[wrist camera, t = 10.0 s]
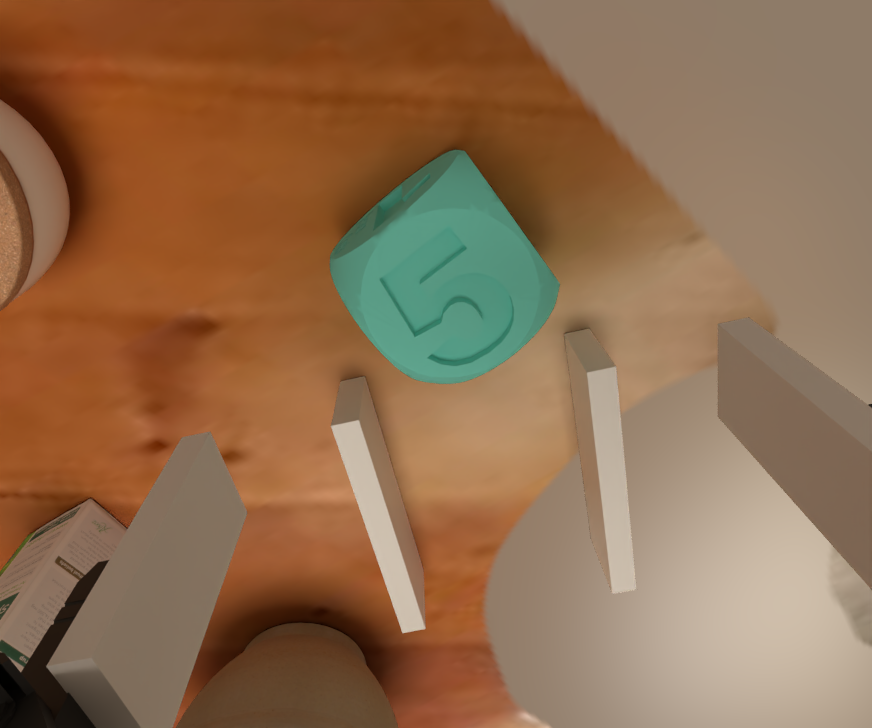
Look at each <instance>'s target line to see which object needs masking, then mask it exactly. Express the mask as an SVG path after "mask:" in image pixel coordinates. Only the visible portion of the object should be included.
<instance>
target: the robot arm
mask: <svg viewBox="0 0 872 728" xmlns="http://www.w3.org/2000/svg"><path fill="white" fill-rule="evenodd" d="M718 417H719V418H720V419H721V421H722V422H723V423H724V424H725V425H726V426H727V427H728V428H729V430H730V431H731V432H732V433H733V434H734V435H735V436H736V437H737V439H738V440H739V441H740V442H741V443H742V444H743V445H744V446H745V448H746V449H747V450H748V451H749V452H750V453H751V454H752V455H753V457H754V458H755V459H756V460H757V461H758V462H759V463H760V464H761V465H762V467H763V468H764V469H765V470H766V471H767V472H768V474H769V475H770V476H771V477H772V478H773V479H774V480H775V481H776V482H777V484H778V485H779V486H780V487H781V488H782V489H783V490H784V491H785V493H786V494H787V495H788V496H789V497H790V498H791V499H792V500H793V502H794V503H795V504H796V505H797V506H798V507H799V508H800V509H801V511H802V512H803V513H804V514H805V515H806V516H807V517H808V518H809V520H810V521H811V522H812V523H813V524H814V525H815V526H816V527H817V529H818V530H819V531H820V532H821V533H822V534H823V535H824V536H825V538H826V539H827V540H828V541H829V542H830V543H831V544H832V545H833V547H834V548H835V549H836V550H837V551H838V552H839V553H840V554H841V556H842V557H843V558H844V559H845V560H846V561H847V562H848V563H849V565H850V566H851V567H852V568H853V569H854V570H855V571H856V572H857V574H858V575H859V576H860V577H861V578H862V579H863V580H864V581H865V583H866V584H867V585H868V586H869V587H870V588H871V589H872V404H869V405H867V404H866V403H864V402H863V401H862V400H860V399H859V398H858V397H856V396H855V395H854V394H852V393H851V392H849V391H848V390H847V389H845V388H844V387H843V386H841V385H840V384H839V383H837V382H836V381H834V380H833V379H832V378H830V377H829V376H828V375H826V374H825V373H824V372H822V371H821V370H819V369H818V368H817V367H815V366H814V365H813V364H811V363H810V362H809V361H807V360H806V359H805V358H803V357H802V356H800V355H799V354H798V353H796V352H795V351H793V350H792V349H791V348H790V347H788V346H787V345H786V344H784V343H783V342H782V341H780V340H779V339H777V338H776V337H775V336H773V335H772V334H771V333H769V332H768V331H767V330H765V329H764V328H762V327H761V326H760V325H758V324H757V323H756V322H754V321H753V320H752V319H750V318H749V317H748V318H744V319H739V320H734V321H729V322H725V323H720V324H718ZM246 515H247V511H246V509H245V506H244V504H243V502H242V500H241V498H240V495H239V493H238V491H237V489H236V487H235V485H234V482H233V480H232V478H231V476H230V474H229V472H228V469H227V467H226V465H225V463H224V461H223V458H222V456H221V454H220V452H219V450H218V448H217V445H216V443H215V441H214V439H213V437H212V434H211V432H206V433H201V434H196V435H192V436H187V437H182V438H181V440H180V442H179V443H178V445H177V447H176V448H175V450H174V452H173V453H172V455H171V457H170V459H169V460H168V462H167V464H166V465H165V467H164V469H163V470H162V472H161V474H160V475H159V477H158V479H157V480H156V482H155V484H154V485H153V487H152V489H151V491H150V492H149V494H148V496H147V497H146V499H145V501H144V502H143V504H142V506H141V507H140V509H139V511H138V512H137V514H136V516H135V518H134V519H133V521H132V523H131V524H130V526H129V528H128V529H127V531H126V533H125V534H124V536H123V538H122V539H121V541H120V543H119V545H118V546H117V548H116V550H115V551H114V553H113V555H112V556H111V558H110V560H106V561H101V562H98V563H97V564H96V565H95V566H94V567H93V568H92V569H91V570H90V571H89V572H88V573H87V574H86V575H84V576H83V577H82V578H81V579H80V580H79V581H78V582H77V584H76V586H75V587H74V589H73V590H72V592H71V594H70V595H69V597H68V598H67V600H66V601H65V603H64V604H65V607H62V608H61V609H60V611H59V613H58V614H57V616H56V617H55V619H54V624H53V625H50V627H49V629H48V630H47V632H46V633H45V635H44V636H43V638H42V640H41V641H40V643H39V644H38V646H37V648H36V649H35V651H34V652H33V654H32V656H31V657H30V659H29V660H28V662H27V664H26V665H25V667H24V668H23V670H22V671H21V672H20V671H19V670H18V668H17V667H16V666H15V665H14V664H13V662H12V661H11V660H10V659H9V657H8V656H7V655H6V654H5V653H2V652H0V728H173V725H174V722H175V719H176V716H177V713H178V710H179V708H180V705H181V702H182V699H183V696H184V693H185V690H186V687H187V685H188V682H189V679H190V676H191V673H192V670H193V667H194V664H195V662H196V659H197V656H198V653H199V650H200V647H201V644H202V641H203V639H204V636H205V633H206V630H207V627H208V624H209V621H210V618H211V616H212V613H213V610H214V607H215V604H216V601H217V598H218V596H219V593H220V590H221V587H222V584H223V581H224V578H225V575H226V573H227V570H228V567H229V564H230V561H231V558H232V555H233V552H234V550H235V547H236V544H237V541H238V538H239V535H240V532H241V529H242V527H243V524H244V521H245V518H246Z"/></svg>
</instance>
